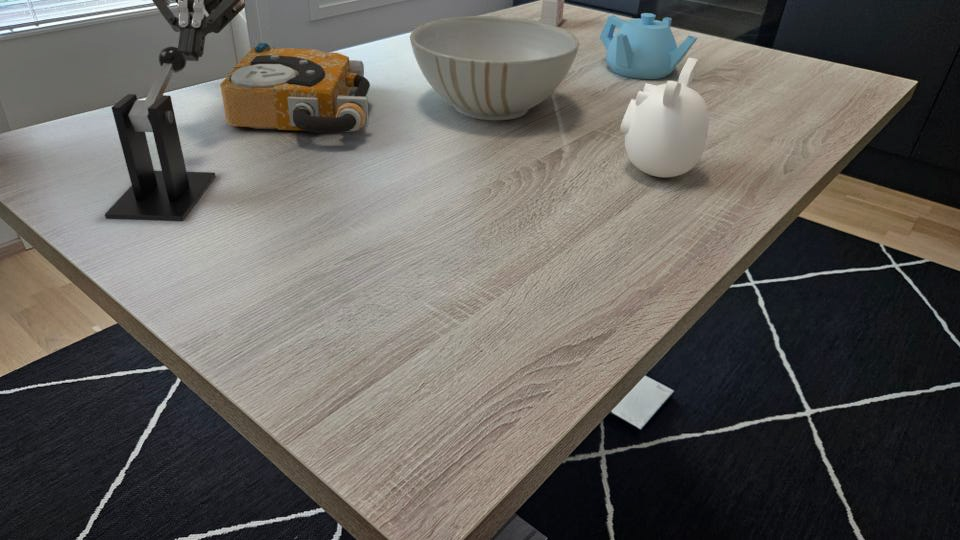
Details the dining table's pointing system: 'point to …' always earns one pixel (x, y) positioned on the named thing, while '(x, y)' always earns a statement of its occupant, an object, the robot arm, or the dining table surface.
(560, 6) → the white rectangular block
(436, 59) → the decorative bowl
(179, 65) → the lever
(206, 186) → the bracket
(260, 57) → the device
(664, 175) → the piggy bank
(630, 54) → the teapot
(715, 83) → the dining table surface
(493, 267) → the dining table surface
